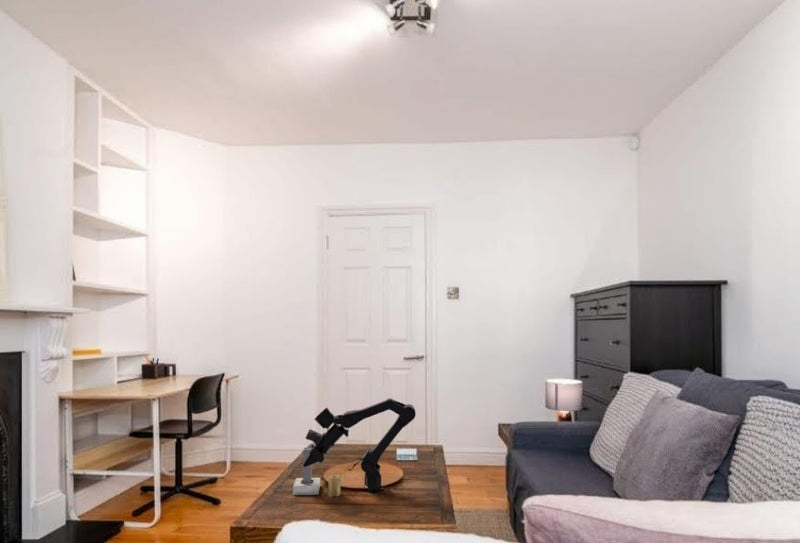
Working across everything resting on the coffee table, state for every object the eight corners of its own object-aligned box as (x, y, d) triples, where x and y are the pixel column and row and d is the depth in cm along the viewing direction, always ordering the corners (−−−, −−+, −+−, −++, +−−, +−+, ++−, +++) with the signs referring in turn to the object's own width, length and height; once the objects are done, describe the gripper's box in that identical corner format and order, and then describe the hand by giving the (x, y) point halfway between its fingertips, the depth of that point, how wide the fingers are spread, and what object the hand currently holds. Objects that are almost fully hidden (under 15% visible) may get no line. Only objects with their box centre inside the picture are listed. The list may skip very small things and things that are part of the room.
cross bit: (343, 494, 207) (343, 476, 208) (333, 497, 204) (334, 479, 204) (334, 491, 211) (334, 473, 211) (325, 494, 207) (325, 476, 207)
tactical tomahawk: (356, 474, 237) (356, 471, 237) (343, 471, 239) (343, 469, 239) (370, 460, 257) (370, 458, 257) (357, 458, 259) (358, 456, 259)
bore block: (320, 486, 217) (320, 477, 218) (318, 494, 207) (318, 485, 208) (296, 486, 216) (296, 478, 217) (293, 495, 207) (293, 486, 207)
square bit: (311, 480, 214) (311, 447, 215) (310, 482, 211) (311, 449, 212) (303, 480, 214) (304, 447, 215) (303, 482, 210) (303, 449, 211)
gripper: (319, 418, 224) (293, 445, 222) (315, 427, 205) (287, 457, 203) (337, 436, 224) (311, 463, 222) (335, 447, 205) (307, 477, 203)
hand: (304, 465), depth 213 cm, fingers closed on square bit, 3 cm apart
